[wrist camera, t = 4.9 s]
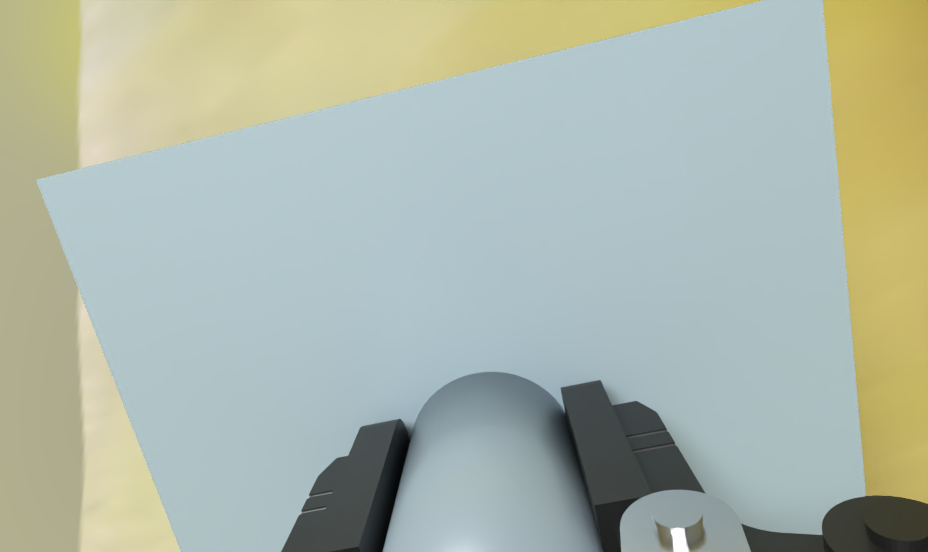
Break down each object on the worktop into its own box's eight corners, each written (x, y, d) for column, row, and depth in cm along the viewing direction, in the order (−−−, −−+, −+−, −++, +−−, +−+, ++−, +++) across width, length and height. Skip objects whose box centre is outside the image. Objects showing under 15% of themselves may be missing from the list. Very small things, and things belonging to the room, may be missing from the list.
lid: (68, 175, 11) (-374, 225, 5) (795, -3, 10) (1207, -180, 4) (277, 730, 14) (133, 1141, 8) (857, 643, 13) (1153, 1051, 7)
